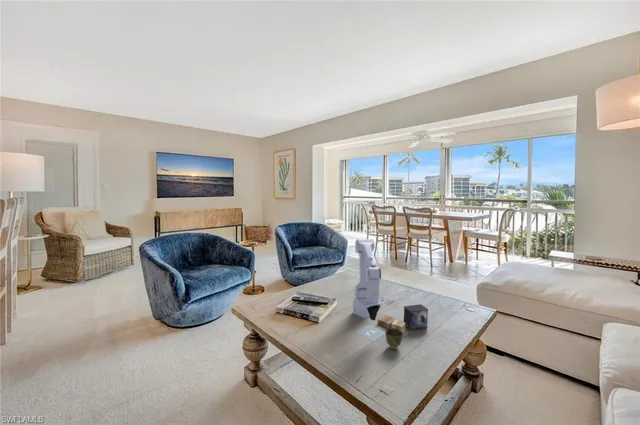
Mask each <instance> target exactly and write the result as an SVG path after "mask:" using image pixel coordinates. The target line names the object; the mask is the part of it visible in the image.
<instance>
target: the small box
mask: <svg viewBox="0 0 640 425" xmlns="http://www.w3.org/2000/svg"><path fill="white" fill-rule="evenodd" d="M428 316H429V309H428V308H427V307H426V306H424V305H423V304H422V303H420V304H413V305H404V306H403V322H405V329H407V330H408V331H414V330H422V329H427V328H428Z"/></svg>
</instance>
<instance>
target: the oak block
mask: <svg viewBox="0 0 640 425" xmlns="http://www.w3.org/2000/svg"><path fill="white" fill-rule="evenodd" d="M392 328H393V329H395V328H396V329H399V330H400V331H402V335H403V334H404V333H405V331H406V327H405V322H404V321H401V320H398V319H396V320H395V321H394V322H393V323H392V327H391V329H392Z"/></svg>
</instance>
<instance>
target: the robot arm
mask: <svg viewBox="0 0 640 425" xmlns="http://www.w3.org/2000/svg"><path fill="white" fill-rule="evenodd" d="M354 245H355V250H354V251H355V253H356V254H358V258H359V282H358V283H356V284H355V286H354V298H353V301H352V312H351V314H354V315H355V316H357V317H360V318H362V319H367V318H369V319H370V320H372V321H376V319H377V314H378V312H379V310H380V309H381V305H382V303H381V302H384V301H385V300H384V296H381V295H380V282H381V281H380V280H381V279H382V269H381V267H380V265H378V263H377V259H376V257H374V256H373V251H374V250H375V245H376V244H375V240H374V239H373V238H372V239H371V238H368V239H364V238H363V239H360V238H359V239H358V238H356V240H355V244H354Z"/></svg>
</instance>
